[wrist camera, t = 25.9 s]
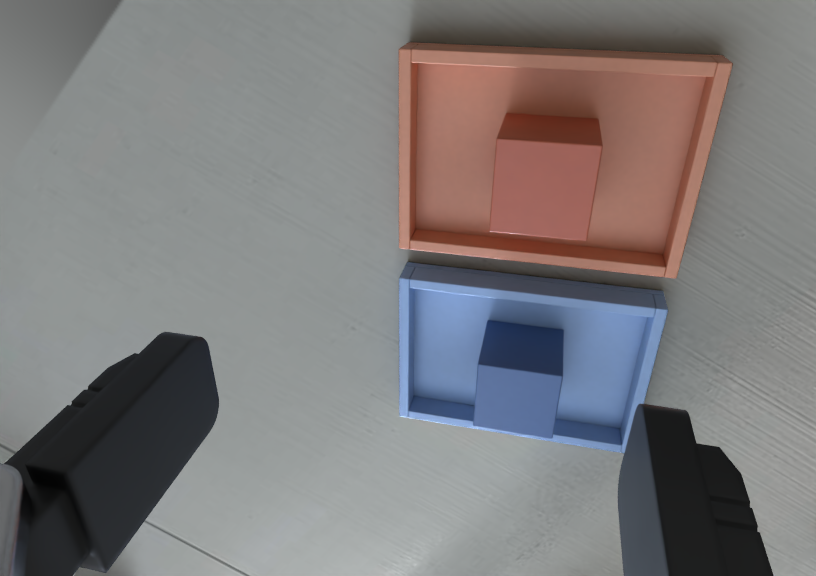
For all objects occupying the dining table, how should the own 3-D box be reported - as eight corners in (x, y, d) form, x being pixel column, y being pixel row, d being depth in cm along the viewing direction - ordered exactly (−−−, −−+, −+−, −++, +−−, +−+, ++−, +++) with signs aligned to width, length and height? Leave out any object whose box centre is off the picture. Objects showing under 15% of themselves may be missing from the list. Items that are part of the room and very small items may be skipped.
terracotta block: (498, 197, 32) (488, 232, 28) (505, 112, 29) (496, 137, 26) (585, 205, 31) (587, 241, 27) (599, 118, 28) (603, 145, 25)
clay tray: (407, 233, 34) (398, 248, 33) (408, 42, 29) (398, 48, 28) (671, 261, 32) (676, 279, 30) (723, 54, 26) (733, 63, 25)
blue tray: (406, 396, 40) (399, 416, 39) (407, 261, 35) (399, 277, 34) (627, 431, 38) (630, 454, 36) (663, 290, 32) (668, 309, 31)
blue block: (482, 378, 38) (472, 426, 34) (487, 319, 35) (477, 364, 32) (554, 389, 37) (552, 439, 33) (564, 329, 34) (563, 376, 31)
